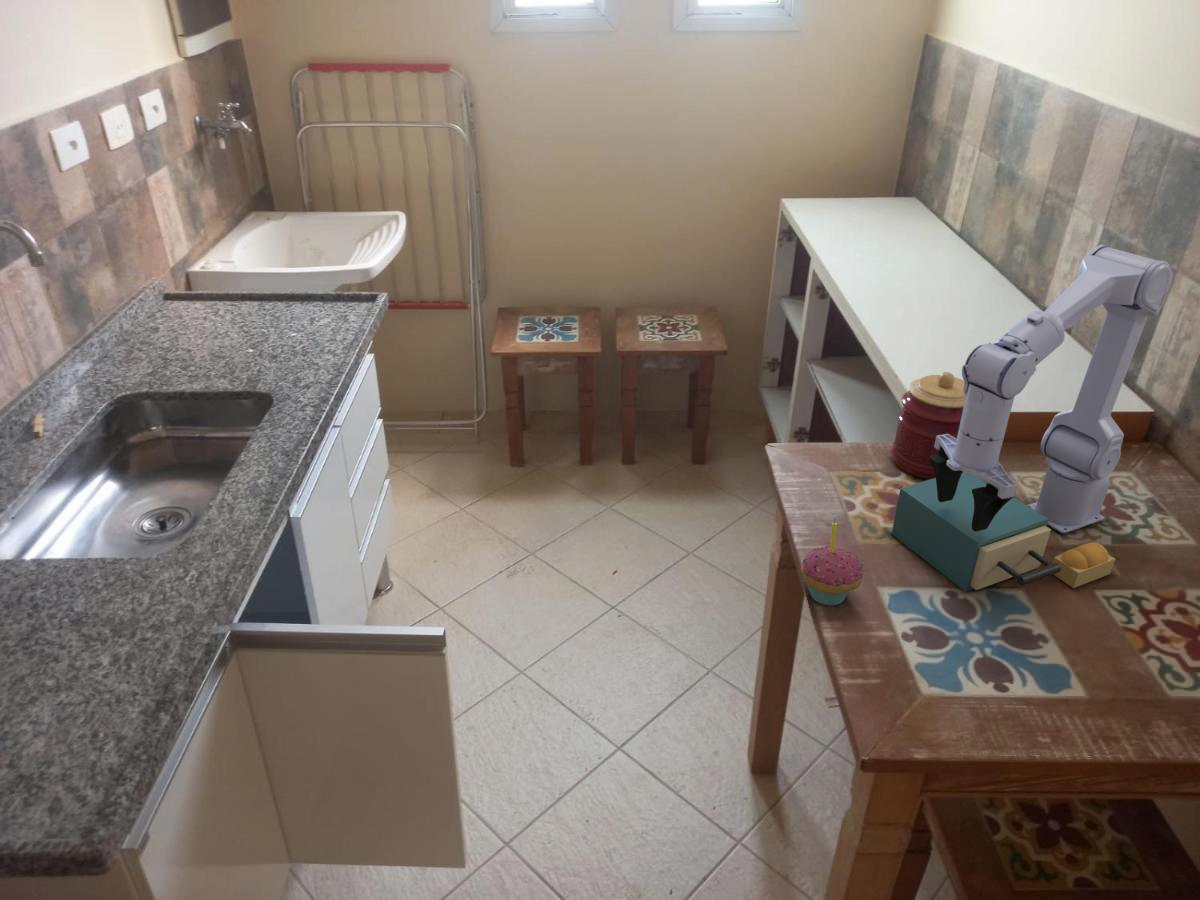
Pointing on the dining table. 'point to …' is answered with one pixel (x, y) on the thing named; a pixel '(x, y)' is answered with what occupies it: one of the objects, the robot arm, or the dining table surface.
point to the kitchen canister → (927, 421)
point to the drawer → (1014, 559)
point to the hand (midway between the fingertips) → (961, 514)
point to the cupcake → (831, 572)
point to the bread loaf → (1084, 564)
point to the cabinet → (955, 526)
